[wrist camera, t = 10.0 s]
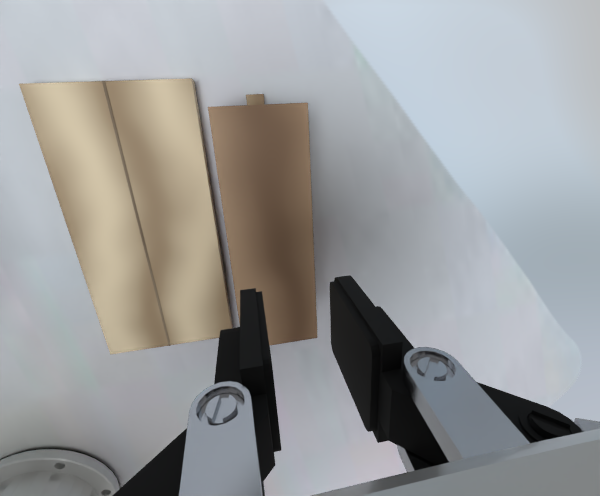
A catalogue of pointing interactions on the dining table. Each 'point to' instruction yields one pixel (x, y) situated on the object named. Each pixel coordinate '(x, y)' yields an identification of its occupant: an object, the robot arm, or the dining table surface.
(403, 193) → the dining table surface
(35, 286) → the dining table surface
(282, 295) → the brown wooden block
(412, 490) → the robot arm
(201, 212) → the board
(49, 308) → the dining table surface
